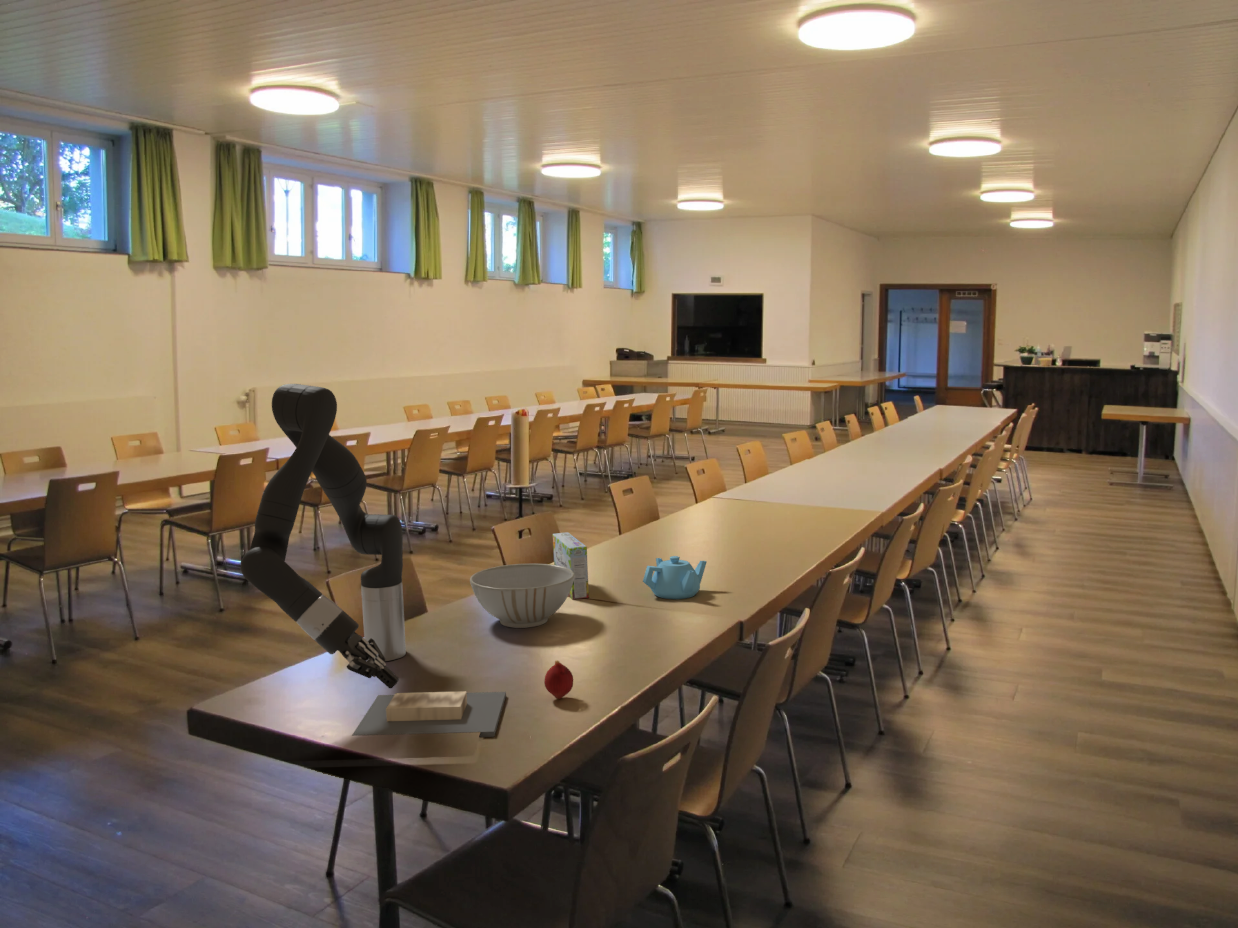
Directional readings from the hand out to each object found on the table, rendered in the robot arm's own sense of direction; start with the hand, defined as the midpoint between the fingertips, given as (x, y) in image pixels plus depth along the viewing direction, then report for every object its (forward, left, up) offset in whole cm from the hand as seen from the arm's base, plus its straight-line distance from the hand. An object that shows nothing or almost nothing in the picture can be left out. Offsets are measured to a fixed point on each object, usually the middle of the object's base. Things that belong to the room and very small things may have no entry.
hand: (395, 683), depth 184 cm
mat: (0, +7, -7) cm, 10 cm away
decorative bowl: (-63, +19, -7) cm, 66 cm away
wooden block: (0, -1, -5) cm, 5 cm away
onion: (-8, +31, -7) cm, 33 cm away
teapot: (-86, +60, -7) cm, 105 cm away
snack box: (-93, +30, -7) cm, 98 cm away
